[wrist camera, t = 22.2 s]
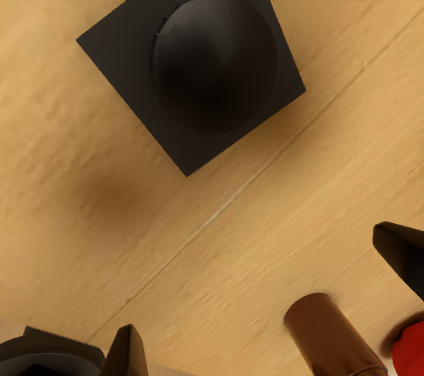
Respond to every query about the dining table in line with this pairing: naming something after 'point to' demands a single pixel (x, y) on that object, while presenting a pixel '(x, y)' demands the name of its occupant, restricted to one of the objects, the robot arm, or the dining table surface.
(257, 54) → the jar lid
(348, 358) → the jam jar
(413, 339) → the tomato
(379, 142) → the dining table surface
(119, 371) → the robot arm
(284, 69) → the rubber mat
